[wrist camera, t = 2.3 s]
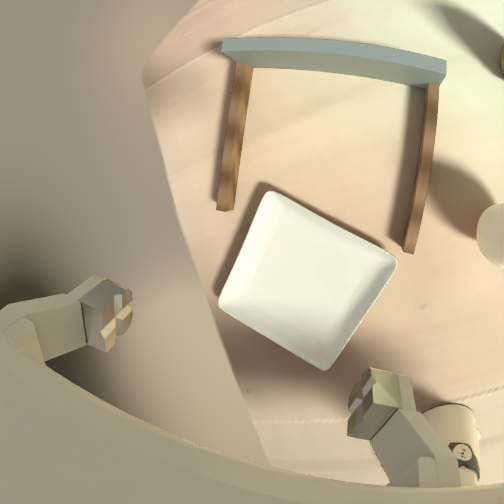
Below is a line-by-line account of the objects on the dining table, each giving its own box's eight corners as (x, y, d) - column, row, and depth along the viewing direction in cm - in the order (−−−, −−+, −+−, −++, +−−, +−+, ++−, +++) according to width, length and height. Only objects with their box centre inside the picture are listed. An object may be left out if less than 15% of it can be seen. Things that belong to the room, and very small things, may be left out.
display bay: (411, 249, 41) (417, 264, 33) (225, 207, 50) (198, 213, 43) (436, 79, 33) (446, 60, 26) (246, 56, 43) (223, 39, 36)
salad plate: (272, 186, 47) (264, 187, 44) (400, 254, 42) (401, 260, 39) (223, 299, 55) (213, 307, 51) (330, 362, 49) (326, 374, 46)
